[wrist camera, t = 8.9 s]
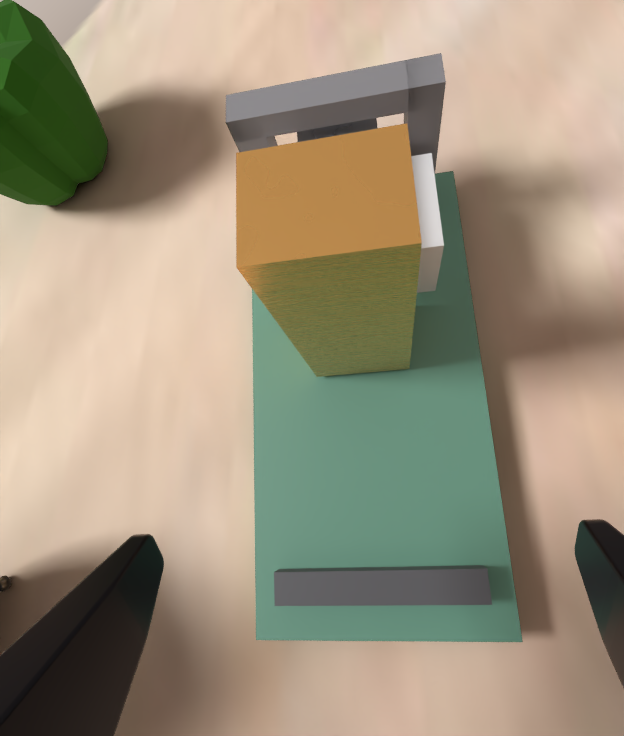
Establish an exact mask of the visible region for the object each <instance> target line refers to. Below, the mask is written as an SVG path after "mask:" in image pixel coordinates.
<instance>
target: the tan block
mask: <svg viewBox="0 0 624 736" xmlns="http://www.w3.org/2000/svg"><path fill="white" fill-rule="evenodd" d="M297 137H298V142H297V143H291V144H285V145H279V146H273V147H268V148H262V149H256V150H250V151H245V152H239V153H236V220H237V269H238V270H239V271H240V273H241V274H242V275H243V277H244V278H245V279H246V281H247V282H248V284H249V285H250V286H251V288H252V289H253V290H254V292H255V293H256V294H257V296H258V297H259V299H260V300H261V301H262V303H263V304H264V305H265V307H266V308H267V309H268V311H269V312H270V314H271V315H272V316H273V318H274V319H275V320H276V322H277V323H278V325H279V326H280V327H281V329H282V330H283V331H284V333H285V334H286V335H287V337H288V338H289V340H290V341H291V342H292V344H293V345H294V346H295V348H296V349H297V350H298V352H299V353H300V355H301V356H302V357H303V359H304V360H305V361H306V363H307V364H308V365H309V367H310V368H311V370H312V371H313V372H314V374H315V375H316V376H317V377H322V376H334V375H345V374H357V373H368V372H379V371H391V370H402V369H409V368H410V358H411V347H412V337H413V327H414V317H415V307H416V296H417V286H418V276H419V266H420V256H421V245H422V241H421V233H420V225H419V216H418V208H417V200H416V191H415V183H414V175H413V166H412V158H411V150H410V141H409V133H408V125H407V124H401V125H395V126H389V127H383V128H378V129H377V121H376V118H372V119H366V120H361V121H355V122H349V123H344V124H338V125H332V126H327V127H321V128H315V129H310V130H304V131H298V132H297Z"/></svg>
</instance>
